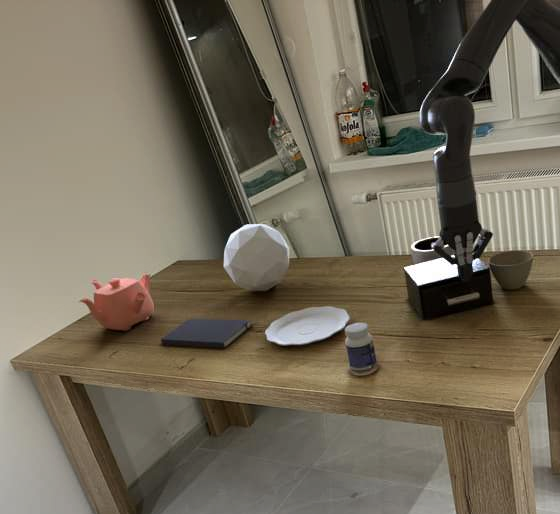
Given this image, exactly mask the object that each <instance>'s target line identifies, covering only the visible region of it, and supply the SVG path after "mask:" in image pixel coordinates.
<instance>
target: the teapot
mask: <svg viewBox="0 0 560 514" xmlns="http://www.w3.org/2000/svg"><path fill="white" fill-rule="evenodd" d="M90 282H91V284H92V285H93V286H94V287H95V289H96V290H94V292H93V301H92V300H91V299H90V298H82V299H78V300H77V302H79V303H83V304H84V305H86V307H87V308H88V310H89V312H90V314H91V315H92V317H93V318H94V319H95V320H96V321H97V322H98V323H99V324H100V325H101V327H103V328H106V329H110V330H115V331H116V330H117V331H120V330H121V331H122V332H123V331H124V332H125V331H129V330H131V329H132V326H134V325H135V324H138V323H140V322H145V321H147V320H148V319H150V318H149V317H150V316H151V315H152V314H153V313H154V310H155V304H154V300H153V298H152V296H151V294H150V288H151V287H150V284H151V274H150V273H145V274H142V275H141V279H140V280H139V279H136V278H130V277H122V278H120V277H114V278H110V280H109V281H108V284H105V285H104V286H103V285H102V283H101V282H100V281H99V280H97V279H92V280H90Z"/></svg>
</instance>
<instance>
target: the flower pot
mask: <svg viewBox="0 0 560 514" xmlns="http://www.w3.org/2000/svg"><path fill="white" fill-rule="evenodd" d="M533 261H534V254H533V253H532V252H530V251H527V250H522V249H518V250H517V249H512V250H506V251H502V252H501V251H500V252H498V253H495V254H493V255H492V256H490V257H488V260H487V262H488V267H489V268H490V273H491V274H492V276H493V278H494V280H495V281H496V283H497V284H498V285H499V286H500V287H501V288H502V289H503V290H506V291H507V290H508V291H513V290H518V289H520V288H523V286H525V284H526V281H527V280H528V279H529V277H530V274H531V270H532V266H533Z"/></svg>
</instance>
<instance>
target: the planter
mask: <svg viewBox="0 0 560 514" xmlns="http://www.w3.org/2000/svg"><path fill="white" fill-rule="evenodd" d="M439 238H440V236H432V237H427V238H423V239H421V240H418V241H415V242H414V243H413V244H412V245H411V246H410V251H411V257H412V264H413V265H416V264H420V263H425V262H429V261H433V260H437V259H441V258H443V257H442V256H440V255H439V254H438V253H437V252H436V251H434V250H433V249H432V248H431V244H432V243H435V242H436V241H437V240H438V239H439ZM443 245H444V246H445V248H444V251H446V252H447V253H448V254H449V255H450V256H453V255H454V252H453V249H452V248H450V247H449V246H448V245H447V244H446V243H445V242H443Z"/></svg>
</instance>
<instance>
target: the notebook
mask: <svg viewBox="0 0 560 514" xmlns="http://www.w3.org/2000/svg"><path fill="white" fill-rule="evenodd" d="M251 327H252V325H251V324H250V320H249V319H227V318H225V319H224V318H223V319H221V318H193V317H191V318H188V319H186V320H185V321H183V322H182V323H180V325H178V326H177V327H176V328H174V329H173V330H171V331H170V332H169V333H167V334H166V335H164V336H163V337H161V338H160V341H161V345H166V346H184V347H201V348H216V349H218V348H219V349H226V348H227V347H228V346H229V345H230V344H232V343H233V342H234V341H236V340H237V339H238V338H239V337H240V336H241V335H242V334H244V333H245V332H246V331H247V330H248V329H250V328H251Z"/></svg>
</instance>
